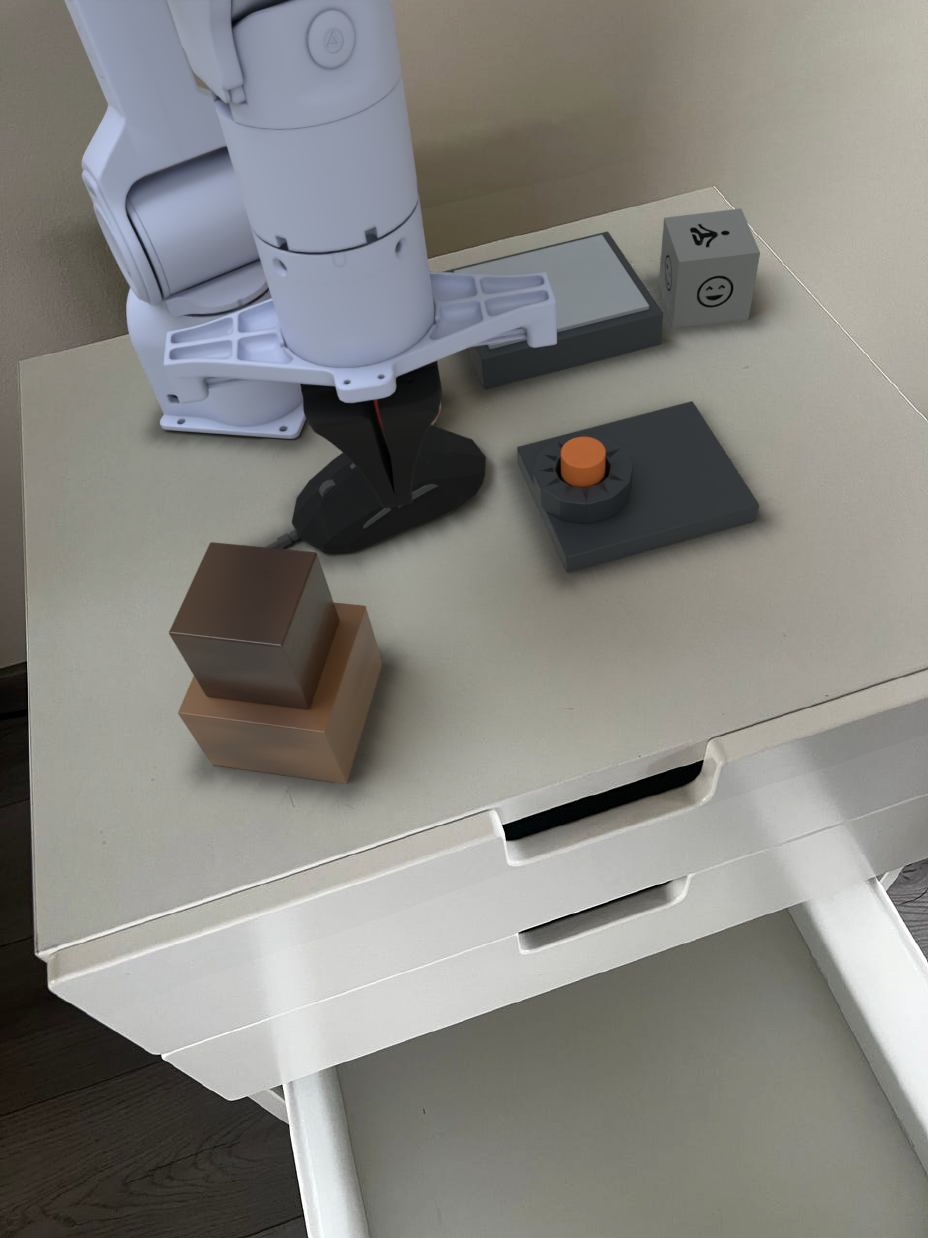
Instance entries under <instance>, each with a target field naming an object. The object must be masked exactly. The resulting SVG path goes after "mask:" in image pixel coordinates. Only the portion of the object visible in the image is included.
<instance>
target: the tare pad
mask: <svg viewBox="0 0 928 1238" xmlns="http://www.w3.org/2000/svg"><path fill="white" fill-rule="evenodd" d="M577 437H591V438H594V439H596V440H598V441H600V442H601V443H602V444H603V446H604V447H605V450H606V458H605V475H604V477H603V479H602V480H601V481H600V482H599V483H598V484H596V485H594V486H590V487H586V488H581V487H574V486H571V485H569V484H568V483H567V482H565V481H564V479H563V478H562V475H561V449H562V447H563V445H564V444H565V443H566V442H568V441H569V440H571V439H573V438H577ZM516 452H517V464H518V467H519V469H520V471H521V474H522V475H523V478H524V480H525V483H526V485H527V488H528V490H529V491H530V494H531V496H532V498H533V500H534V503H535V505H536V508H537V509H538V512H539V515H540V517H541V519H542V521H543V523H544V526H545V527H546V530H547V532H548V534H549V537H550V539H551V542H552V544H553V546H554V548H555V550H556V552H557V553H556V554H558V557H559V559H560V561H561V564H562V566H563V569H564V570H565V572H566V573H567V574H570V573H573V572H577V571H581V570H584V569H587V568H591V567H594V566H598V565H602V564H606V563H609V562H613V561H616V560H620V559H623V558H628V557H631V556H634V555H638V554H642V553H646V552H650V551H653V550H657V549H661V548H663V547H668V546H672V545H675V544H678V543H682V542H686V541H689V540H694V539H697V538H700V537H704V536H707V535H711V534H716V533H718V532H722V531H725V530H729V529H734V528H736V527H740V526H745V525H749V524H752V523H755V522H757V518H758V513H759V509H760V503H759V502H758V500H757V499H756V497H755V496H754V494H753V492H752V491H751V490H750V488H749V487H748V485H747V483H746V482H745V480H744V479H743V477H742V475H741V474H740V472H739V471H738V469H737V468H736V466H735V465H734V463H733V461H732V460H731V458H730V457H729V455H728V454H727V452H726V450H725V449H724V448H723V446H722V444H721V443H720V441H719V439H718V438H717V437H716V435H715V433H714V432H713V431H712V429H711V427H710V426H709V425H708V422H707V421H706V419H705V418H704V416H703V415H702V413H701V412H700V410H699V408H698V407H697V405H696V404H695V402H694V401H693V400H692V401H687V402H684V403H679V404H675V405H672V406H668V407H665V408H664V407H663V408H661V409H657V410H654V411H649V412H645V413H641V414H638V415H634V416H630V417H627V418H626V417H625V418H622V419H618V420H615V421H611V422H607V423H603V424H599V425H596V426H592V427H588V428H584V429H581V430H576V431H573V432H569V433H564V434H562V435H558V436H553V437H550V438H547V439H543V440H539V441H535V442H532V443H531V442H530V443H527V444H523V445H519V446H517V447H516Z"/></svg>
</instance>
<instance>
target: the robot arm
mask: <svg viewBox="0 0 928 1238" xmlns="http://www.w3.org/2000/svg"><path fill="white" fill-rule="evenodd" d="M63 1H64V3H65V5H66V9H67V10H68V12H69V15H70V17H71V19H72V22H73V24H74V26H75V27H74V28H75V29H76V31H77V34H78V37H79V39H80V41H81V43H82V46H83V47H84V51H85V53H86V55H87V57H88V60H89V62H90V63H89V64H90V65H91V67H92V70H93V72H94V74H95V77H96V79H97V81H98V84H99V86H100V89H101V91H102V93H103V97H104V98H105V100H106V104H107V108H106V111H105V114H104V115H103V117H102V119H101V121H100V123H99V124H98V127H97V129H96V131H95V133H94V134H93V136H92V138H91V140H90V142H89V144H88V146H87V147H86V149H85V151H84V154H83V155H82V159H81V168H82V173H81V178H82V181H83V183H84V186H85V188H86V190H87V193H88V195H89V197H90V200H91V202H92V205H93V210H94V213H95V217H96V219H97V222H98V224H99V227H100V229H101V231H102V234H103V236H104V239H105V241H106V243H107V245H108V248H109V249H110V251H111V254H112V256H113V257H114V259H115V261H116V264H117V266H118V267H119V270H120V271H121V274H122V275H123V277H124V279H125V281H126V282H127V284H128V286H129V290H128V293H127V297H126V307H125V308H126V310H125V311H126V313H125V314H126V315H125V316H126V324H127V330H128V335H129V338H130V343H131V345H132V347H133V350H134V352H135V354H136V356H137V358H138V361H139V363H140V365H141V368H142V369H143V372H144V375H145V376H146V378H147V381H148V382H149V385H150V387H151V389H152V392H153V393H154V396H155V398H156V400H157V402H158V405H159V407H160V408H161V411H162V413H163V415H162V416H161V418H160V420H159V425H160V427H161V429H163V430H165V431H175V432H189V433H190V432H191V433H202V434H217V435H219V434H220V435H229V436H231V435H232V436H244V437H245V436H246V437H259V438H272V439H273V438H274V439H287V440H294V439H297V438H299V436H300V434H301V432H302V429H303V427H304V425H305V423H306V421H307V423H308V425H309V426H310V428H311V429H312V431H313V432H314V433H315V434H317V435H319V436H320V437H322V438H324V439H325V440H326V441H328V442H329V443H331V444H332V445H334V447H335V448H337V449H338V450H339V451H341V453H344V454H345V455H346V456H347V457H348V458H349V459H350V460H351V461H352V462H353V463H354V465H355V466H356V467H357V468H358V469H359V471H360V472H361V473H362V474H363V476H364V477H365V478H366V480H367V481H368V483H369V484H370V486H371V487H372V489H373V490H374V492H375V494H376V496H377V497H378V499H379V501H380V504H381V506H382V507H383V508H390V507H396V506H402V505H409V504H411V503H412V502H413V498H412V484H413V476H414V470H415V466H416V461H417V457H418V454H419V451H420V448H421V445H422V442H423V440H424V437H425V435H426V433H427V431H428V429H429V427H430V425H431V423H432V422H433V420H434V418H435V417H436V415H437V414H438V411H439V407H440V403H441V404H442V398H443V397H442V396H443V387H442V381H441V375H440V370H439V364H438V361H440V360H443V359H444V358H447V357H450V356H453V355H454V354H457V353H459V352H462V351H464V350H467V349H466V348H469V347H474V346H481V345H487V344H493V343H500V342H506V341H512V340H518V339H525V338H527V344H528V345H529V346H530V347H533V348H537V347H543V346H549V345H555V344H557V318H556V299H555V296H554V293H553V290H552V287H551V283H550V280H549V277H548V274H547V272H540V273H532V274H521V275H489V274H469V273H450V272H443V271H430V265H429V259H428V251H427V244H426V236H425V230H424V229H425V228H424V222H423V221H424V220H423V214H422V208H421V207H422V205H421V200H420V199H421V198H420V193H419V184H418V183H419V182H418V175H417V170H416V163H415V155H414V149H413V141H412V133H411V125H410V120H409V111H408V105H407V98H406V90H405V83H404V76H403V69H402V63H401V62H402V60H401V55H400V48H399V41H398V40H399V39H398V34H397V33H398V32H397V24H396V19H395V18H396V17H395V11H394V5H393V0H63ZM194 74H195V75H196V76H197V77H198V78H199V79H200V80H201V81H202V82H203V83H204V84H205V85H206V86H207V87H208V88H209V89H207V88H205V87H202V86H199V85H198V84H197V81H196V78H195V76H194ZM374 399H377V402H378V410H379V415H380V419H381V422H382V426H383V429H384V433H385V437H386V440H387V443H386V440H385V437H384V434H383V430H382V427H381V424H380V421H379V418H378V414H377V410H376V406H375V401H374ZM387 444H388V446H387ZM388 448H389V450H388Z"/></svg>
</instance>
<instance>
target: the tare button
mask: <svg viewBox="0 0 928 1238" xmlns="http://www.w3.org/2000/svg"><path fill="white" fill-rule="evenodd" d="M605 458H606V450H605V447H604V446H603V444H602V443H601V442H600V441H598V440H596V439H594V438H591V437H577V438H573V439H571V440H569V441H568V442H566V443H565V444H564V445H563V447H562V449H561V475H562V478H563V479H564V481H565V482H567V483H568V484H569V485H571V486H574V487H581V488H586V487H590V486H594V485H596V484H598V483H599V482H600V481H601V480H602V479H603V477H604V475H605Z"/></svg>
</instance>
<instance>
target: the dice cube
mask: <svg viewBox="0 0 928 1238" xmlns="http://www.w3.org/2000/svg"><path fill="white" fill-rule="evenodd" d="M660 252H661V253H660V263H659V274H658V286H659V290H660V292H661V295H662V299H663V302H664V305H665V306H664V307H665V309H666V312H667V315H668V318H669V322H670V325H671V329H679V328H687V327H696V326H705V325H713V324H714V325H715V324H723V323H730V322H741V321H748V320H749V319H750V313H751V307H752V303H753V302H752V301H753V296H754V290H755V284H756V279H757V273H758V268H759V263H760V257H761V251H760V249H759V246H758V243H757V241H756V239H755V237H754V234H753V232H752V230H751V227H750V225H749V223H748V221H747V218H746V216H745V214H744V212H743V209H742V208H734V209H725V210H716V211H707V212H701V213H700V212H699V213H691V214H683V215H682V214H681V215H674V216H666V217H664V218H663V227H662V239H661V251H660Z"/></svg>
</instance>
